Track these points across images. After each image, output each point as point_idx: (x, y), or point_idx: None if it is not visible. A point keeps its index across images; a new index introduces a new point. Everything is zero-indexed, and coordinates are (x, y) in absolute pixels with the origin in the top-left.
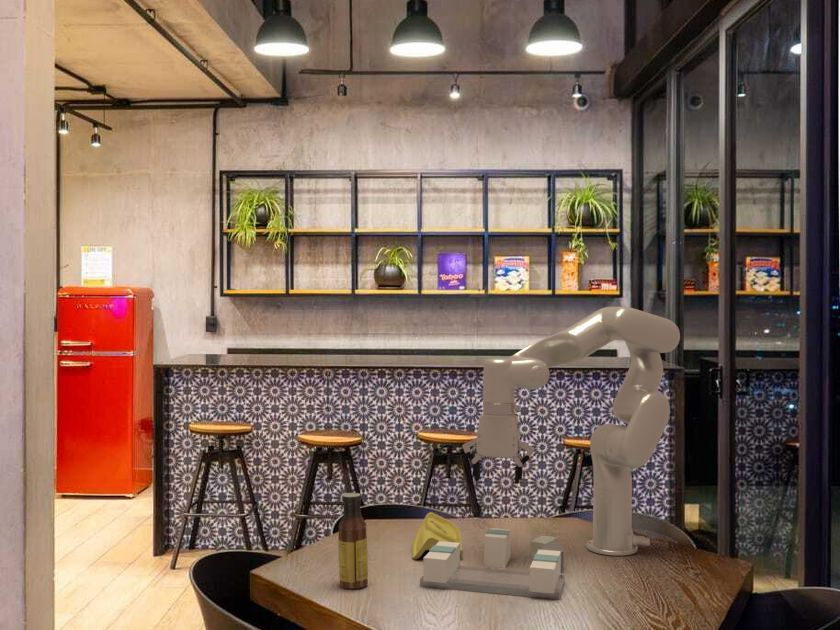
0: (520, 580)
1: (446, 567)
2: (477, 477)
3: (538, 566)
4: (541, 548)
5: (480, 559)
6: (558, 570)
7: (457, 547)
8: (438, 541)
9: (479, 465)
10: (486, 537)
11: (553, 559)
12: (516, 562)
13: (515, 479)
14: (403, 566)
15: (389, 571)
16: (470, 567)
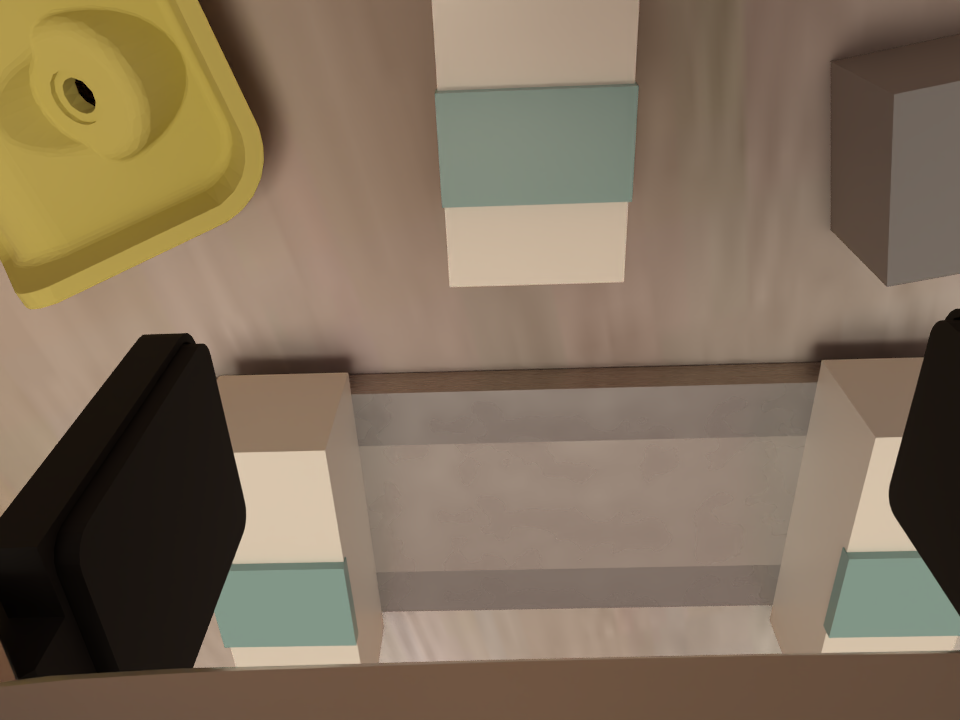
0: (722, 513)
1: None
2: (226, 556)
3: None
4: (895, 219)
5: (398, 74)
6: None
7: (337, 511)
8: (104, 278)
9: (132, 626)
10: (467, 281)
11: (950, 619)
12: (661, 60)
13: (924, 545)
14: (25, 367)
15: (14, 459)
16: (422, 403)
